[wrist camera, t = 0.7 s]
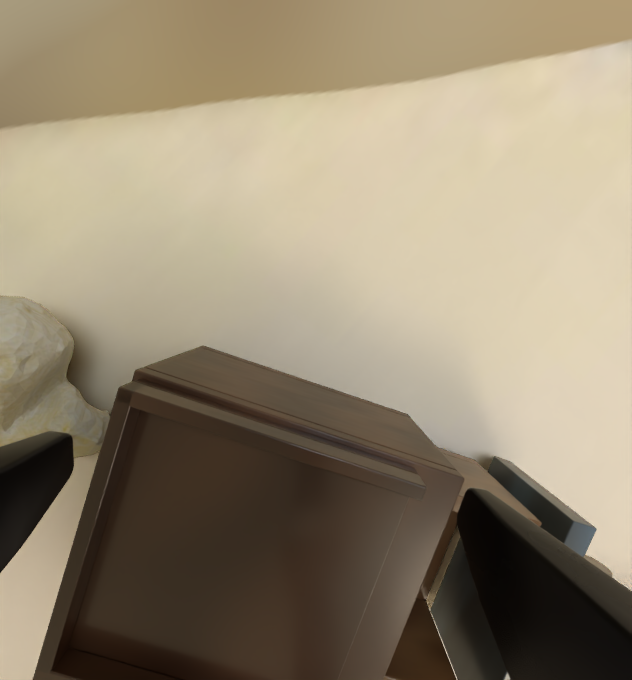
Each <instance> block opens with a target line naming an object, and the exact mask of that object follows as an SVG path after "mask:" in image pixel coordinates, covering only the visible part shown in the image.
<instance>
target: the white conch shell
mask: <svg viewBox="0 0 632 680" xmlns="http://www.w3.org/2000/svg"><path fill="white" fill-rule="evenodd" d="M74 346H75V345H74V340H73V338H72V336H71V334H70V333H69V331H68V330H67V329H66V327H65V326H63V325H62V324H61V323H59V322H58V321H57V320H56V319H55V318H54V316H53V315H52V314H51V313H50V312H49V311H48V309H46V308H44V307H43V306H42V305H41V304H38V303H36V302H34V301H32V300H29V299H27V298H25V297H11V296H0V447H1V446H4V445H7V444H10V443H13V442H16V441H19V440H23V439H26V438H29V437H32V436H35V435H38V434H41V433H44V432H48V431H56V432H64V433H69V434H70V435H71V436H72V438H73V455H74V457H82V456H87V455H92V454H94V453H96V452H98V451H100V450H101V446H102V443H103V440H104V436H105V433H106V430H107V426H108V423H109V419H110V415H109V413H108V411H107V410H106V411H100V410H98V409H97V408H94V407H92V406H90V405H89V404H88V403H87V402H86V401H85V400H84V399H83V397H82V395H81V393H80V392H79V390H78V389H77V388H76V387H75V386H73V385H72V384H71V383H70V382H69V381H67V378H66V374H67V369H68V365H69V363H70V361H71V358H72V354H73V350H74Z"/></svg>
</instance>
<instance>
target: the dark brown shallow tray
mask: <svg viewBox="0 0 632 680" xmlns="http://www.w3.org/2000/svg"><path fill="white" fill-rule="evenodd" d="M426 489H427V487H426V485H425V484H424V482H423V481H422V479H421V478H420V476H419V475H418V473H417V471H416V470H415V469H414V468H411V467H408V466H405V465H402V464H399V463H396V462H393V461H390V460H387V459H384V458H381V457H378V456H375V455H372V454H369V453H366V452H363V451H360V450H357V449H354V448H350V447H347V446H344V445H341V444H338V443H335V442H332V441H329V440H326V439H323V438H320V437H317V436H314V435H311V434H308V433H305V432H302V431H299V430H296V429H293V428H290V427H287V426H284V425H280V424H277V423H274V422H271V421H268V420H265V419H262V418H259V417H256V416H253V415H250V414H247V413H244V412H241V411H238V410H235V409H232V408H229V407H226V406H223V405H220V404H217V403H214V402H211V401H207V400H204V399H201V398H198V397H195V396H192V395H189V394H186V393H183V392H180V391H177V390H174V389H171V388H168V387H165V386H162V385H159V384H156V383H153V382H150V381H147V380H144V379H137V380H135V381H133V382H130V383H128V384H125V385H123V386H121V387H119V389H118V392H117V396H116V399H115V402H114V406H113V409H112V413H111V416H110V419H109V423H108V426H107V430H106V433H105V436H104V440H103V443H102V446H101V450H100V453H99V457H98V460H97V463H96V467H95V470H94V474H93V477H92V480H91V484H90V487H89V491H88V494H87V497H86V501H85V504H84V507H83V511H82V514H81V518H80V521H79V524H78V528H77V531H76V535H75V538H74V541H73V545H72V548H71V552H70V555H69V558H68V562H67V565H66V569H65V572H64V575H63V579H62V582H61V585H60V589H59V592H58V596H57V599H56V602H55V606H54V609H53V613H52V616H51V619H50V623H49V626H48V630H47V633H46V636H45V640H44V643H43V646H42V650H41V653H40V657H39V660H38V663H37V667H36V670H35V674H34V677H33V680H338V678H339V676H340V673H341V671H342V668H343V666H344V663H345V661H346V658H347V655H348V653H349V650H350V648H351V645H352V643H353V640H354V638H355V635H356V633H357V630H358V627H359V625H360V622H361V620H362V617H363V615H364V612H365V610H366V607H367V605H368V602H369V599H370V597H371V594H372V592H373V589H374V587H375V584H376V582H377V579H378V576H379V574H380V571H381V569H382V566H383V564H384V561H385V559H386V556H387V554H388V551H389V548H390V546H391V543H392V541H393V538H394V536H395V533H396V531H397V528H398V526H399V523H400V520H401V518H402V515H403V513H404V510H405V508H406V505H407V503H408V500H409V498H410V497H411V498H414V499H417V500H420V501H422V499H423V497H424V494H425V492H426Z"/></svg>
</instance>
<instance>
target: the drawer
mask: <svg viewBox="0 0 632 680" xmlns="http://www.w3.org/2000/svg"><path fill="white" fill-rule="evenodd" d="M438 449H439V450H440V451H441V453H442V454H443V455H444V456H445V457H446V458H447V459H448V460H449V462H450V463H451V464H452V465H453V466H454V467H455V468H456V469H457V471H458V472H459V473H460V474H461V475H462V476H463V477H464V479H465V480H464V483H463V485H462V488H461V490H460V493H459V495H458V497H457V500H456V502H455V505H454V507H453V510H452V512H451V515H450V517H449V520H448V522H447V524H446V527H445V529H444V532H443V534H442V537H441V539H440V542H439V544H438V547H437V549H436V552H435V554H434V556H433V559H432V561H431V564H430V566H429V569H428V571H427V574H426V576H425V579H424V581H423V583H422V586H421V588H420V591H419V593H418V596H417V598H416V601H415V603H414V606H413V608H412V610H411V613H410V615H409V618H408V620H407V623H406V625H405V628H404V630H403V633H402V635H401V638H400V640H399V642H398V645H397V647H396V650H395V652H394V655H393V657H392V660H391V662H390V665H389V667H388V669H387V672H386V674H385V677H384V679H383V680H456V677H455V675H454V672H453V669H454V671H455V674H456V676H457V679H458V680H510V677H509V675H508V672H507V669H506V667H505V664H504V662H503V659H502V657H501V654H500V652H499V649H498V646H497V644H496V641H495V639H494V636H493V634H492V631H491V628H490V626H489V623H488V621H487V618H486V616H485V613H484V610H483V608H482V605H481V602H480V600H479V597H478V594H477V591H476V588H475V584H474V581H473V578H472V574H471V571H470V567H469V564H468V561H467V557H466V554H465V550H464V547H463V544H462V540H461V537H460V539H459V542H458V544H457V547H456V549H455V551H454V554H453V556H452V559H451V561H450V564H449V566H448V568H447V571H446V573H445V576H444V578H443V580H442V583H441V585H440V588H439V590H438V593H437V595H436V597H435V600H434V602H433V605H432V607H431V613H432V615H433V618H434V620H435V623H436V625H437V628H438V631H439V633H440V636H441V638H442V641H443V643H444V646H445V648H446V651H447V653H448V656H449V658H450V661H451V664H452V666H453V669H452V667H451V664H450V662H449V659H448V657H447V654H446V652H445V649H444V646H443V644H442V641H441V639H440V636H439V634H438V631H437V628H436V626H435V623H434V621H433V618H432V616H431V613H430V610H429V608H428V605H427V603H426V599H427V596H428V594H429V591H430V589H431V587H432V584H433V582H434V579H435V577H436V574H437V572H438V569H439V567H440V565H441V562H442V560H443V557H444V555H445V552H446V550H447V548H448V545H449V543H450V540H451V538H452V535H453V533H454V530H455V528H456V526H457V514H458V511H459V508H460V505H461V502H462V500H463V497H464V494H465V492H466V490H467V489H468V488H470V487H473V488H481V489H486V490H488V491H490V492H491V493H493V494H494V495H495V496H497V497H498V498H500V499H501V500H502V501H504V502H505V503H507V504H508V505H510V506H511V507H512V508H514V509H515V510H517V511H518V512H520V513H521V514H522V515H524V516H525V517H527V518H528V519H529V520H531V521H532V522H534V523H535V524H537V525H538V526H539V527H541V528H542V529H544V530H545V531H547V532H548V533H549V534H551V535H552V536H554V537H555V538H557V539H558V540H559V541H561V542H562V543H564V544H565V545H566V546H568V547H569V548H571V549H572V550H574V551H575V552H576V553H578V554H579V555H581V556H582V557H584V558H585V559H586V560H588V561H589V562H591V563H592V564H593V565H595V566H596V567H598V568H599V569H601V570H602V571H603V572H605V573H606V574H608V575H609V576H611V577H612V572H611V571H610V570H609V569H608V568H607V567H606V566H604V565H603V564H602V563H600V562H599V561H597V560H595V559H594V558H592V557H589V556H587V555H585V554H586V551H587V549H588V547H589V545H590V543H591V540H592V538H593V536H594V534H595V532H596V528H595V527H594V526H592V525H591V524H590V523H589V522H587V521H586V520H585V519H583V518H582V517H581V516H580V515H578V514H577V513H576V512H574V511H573V510H572V509H571V508H569V507H568V506H567V505H565V504H564V503H563V502H562V501H560V500H559V499H558V498H556V497H555V496H554V495H553V494H551V493H550V492H549V491H547V490H546V489H545V488H544V487H542V486H541V485H540V484H538V483H537V482H536V481H535V480H533V479H532V478H531V477H529V476H528V475H527V474H526V473H524V472H523V471H522V470H520V469H519V468H518V467H517V466H515V465H514V464H513V463H511V462H510V461H508V460H505V459H502V458H499V457H496V456H494V457H493V459H492V462H491V464H490V467H489V469H488V471H486V470H485V469H484V468H483V467H482V466H481V465H480V464H478V463H477V462H476V461H475V460H473V459H470V458H467V457H464V456H461V455H458V454H455V453H452V452H449V451H446V450H443V449H440V448H438Z"/></svg>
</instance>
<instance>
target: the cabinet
mask: <svg viewBox="0 0 632 680" xmlns="http://www.w3.org/2000/svg"><path fill="white" fill-rule="evenodd" d="M137 379H144V380H147V381H150V382H153V383H156V384H159V385H162V386H165V387H168V388H171V389H174V390H177V391H180V392H183V393H186V394H189V395H192V396H195V397H198V398H201V399H204V400H207V401H211V402H214V403H217V404H220V405H223V406H226V407H229V408H232V409H235V410H238V411H241V412H244V413H247V414H250V415H253V416H256V417H259V418H262V419H265V420H268V421H271V422H274V423H277V424H280V425H284V426H287V427H290V428H293V429H296V430H299V431H302V432H305V433H308V434H311V435H314V436H317V437H320V438H323V439H326V440H329V441H332V442H335V443H338V444H341V445H344V446H347V447H350V448H354V449H357V450H360V451H363V452H366V453H369V454H372V455H375V456H378V457H381V458H384V459H387V460H390V461H393V462H396V463H399V464H402V465H405V466H408V467H411V468H414V469H415V470H416V471H417V473H418V475H419V476H420V478H421V479H422V481H423V482H424V484H425V485H426V487H427V489H426V492H425V494H424V497H423V499H422V501H420V500H417V499H414V498H411V497H410V498H409V500H408V503H407V505H406V508H405V510H404V513H403V515H402V518H401V520H400V523H399V526H398V528H397V531H396V533H395V536H394V538H393V541H392V543H391V546H390V548H389V551H388V554H387V556H386V559H385V561H384V564H383V566H382V569H381V571H380V574H379V576H378V579H377V582H376V584H375V587H374V589H373V592H372V594H371V597H370V599H369V602H368V605H367V607H366V610H365V612H364V615H363V617H362V620H361V622H360V625H359V627H358V630H357V633H356V635H355V638H354V640H353V643H352V645H351V648H350V650H349V653H348V655H347V658H346V661H345V663H344V666H343V668H342V671H341V673H340V676H339V678H338V680H383V679H384V677H385V674H386V672H387V669H388V667H389V665H390V662H391V660H392V657H393V655H394V652H395V650H396V647H397V645H398V642H399V640H400V638H401V635H402V633H403V630H404V628H405V625H406V623H407V620H408V618H409V615H410V613H411V610H412V608H413V606H414V603H415V601H416V598H417V596H418V593H419V591H420V588H421V586H422V583H423V581H424V579H425V576H426V574H427V571H428V569H429V566H430V564H431V561H432V559H433V556H434V554H435V552H436V549H437V547H438V544H439V542H440V539H441V537H442V534H443V532H444V529H445V527H446V524H447V522H448V520H449V517H450V515H451V512H452V510H453V507H454V505H455V502H456V500H457V497H458V495H459V493H460V490H461V488H462V485H463V483H464V480H465V479H464V477H463V476H462V475H461V474H460V473H459V472H458V471H457V469H456V468H455V467H454V466H453V465H452V464H451V463H450V462H449V460H448V459H447V458H446V457H445V456H444V455H443V454H442V453H441V451H440V450H439V449H438V448H437V447H436V446H435V445H434V444H433V443H432V441H431V440H430V439H429V438H428V437H427V436H426V435H425V434H424V432H423V431H422V430H421V429H420V428H419V427H418V426H417V425H416V424H415V422H414V421H413V420H412V419H411V418H410V416H409V415H408V414H405V413H402V412H399V411H396V410H393V409H390V408H387V407H384V406H381V405H378V404H375V403H372V402H369V401H366V400H363V399H360V398H357V397H354V396H351V395H348V394H345V393H342V392H339V391H337V390H334V389H331V388H328V387H325V386H322V385H319V384H316V383H313V382H310V381H307V380H304V379H301V378H298V377H295V376H292V375H289V374H286V373H283V372H280V371H277V370H274V369H271V368H268V367H265V366H262V365H259V364H256V363H253V362H250V361H247V360H244V359H241V358H238V357H235V356H232V355H230V354H227V353H224V352H221V351H218V350H215V349H212V348H209V347H206V346H200V347H198V348H195V349H193V350H190V351H187V352H184V353H181V354H179V355H176V356H173V357H170V358H168V359H165V360H162V361H159V362H157V363H154V364H151V365H148V366H146V367H144V368H140V369H137V370H136V371H135V373H134V376H133V379H132V382H133V381H135V380H137Z"/></svg>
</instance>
